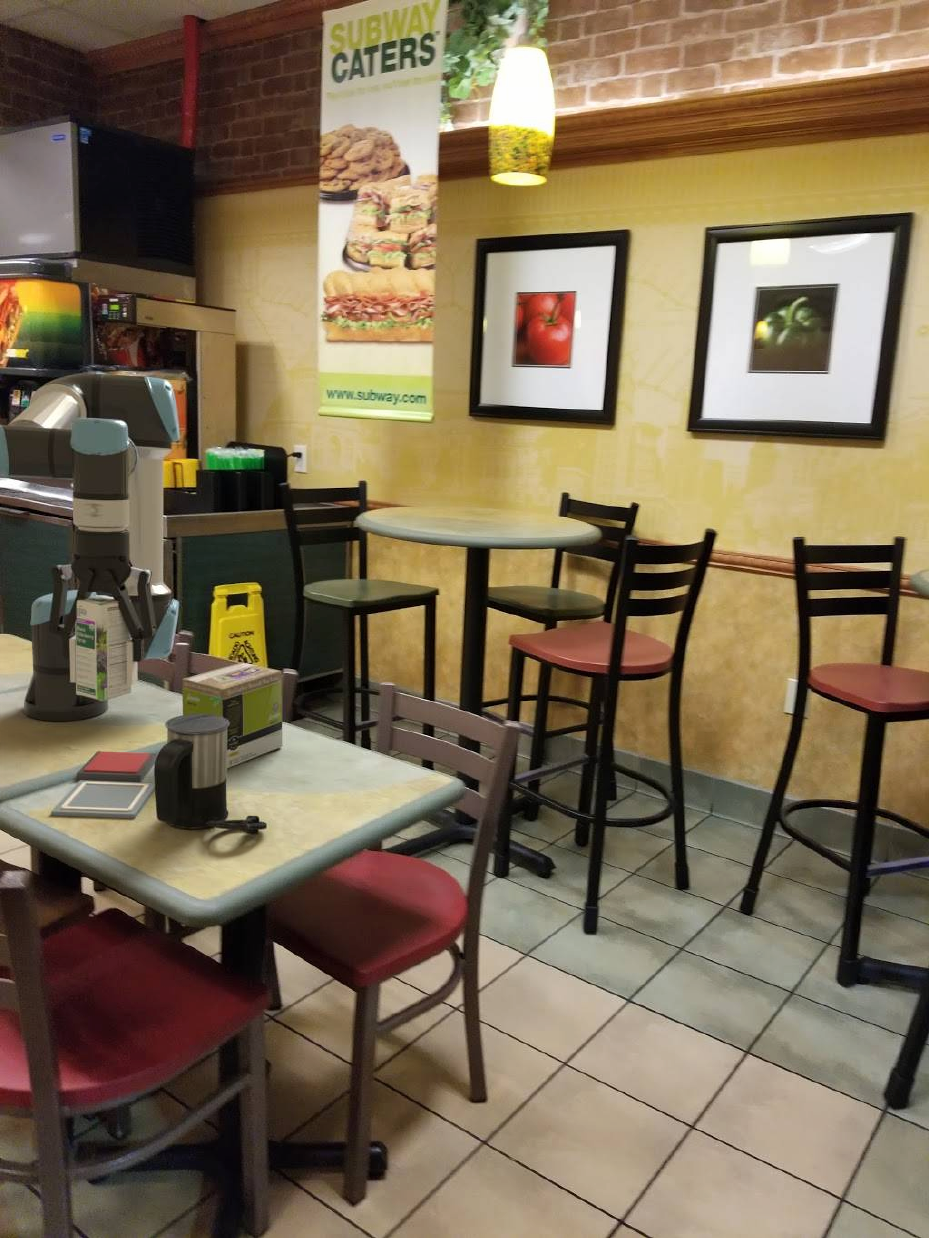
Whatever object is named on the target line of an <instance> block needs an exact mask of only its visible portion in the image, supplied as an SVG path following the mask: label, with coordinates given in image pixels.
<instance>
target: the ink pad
mask: <svg viewBox="0 0 929 1238" xmlns="http://www.w3.org/2000/svg"><path fill="white" fill-rule="evenodd" d="M157 755H158V753H155V752H154V753H149V752H126V751H125V752H124V751H121V752H120V751H101V750H98V751H96V752H95V753H94V754H93V756H91V758H90V759H88V761H86V762H85V764H84V765H83V766H82V767H81V768H80V769H79V770H78V771H77V772H76V781H80V780H84V781H111V782H137V783H142V782H143V780H144V778H145V777H146V776H147V775H148V773H149V772H150V770H151V769H152V768H153V767H154V766H155V761H156V758H157Z"/></svg>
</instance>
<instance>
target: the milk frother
mask: <svg viewBox="0 0 929 1238" xmlns="http://www.w3.org/2000/svg"><path fill="white" fill-rule="evenodd" d="M229 724H230V723H229V721H228V720H227V719H225V718H223V717H220V716H216V715H210V714H189V715H183V714H182V715H177V716H174V717H172V718H169V719H168V720H167V721H165V724H164V725H165V728H166V729H167V732H166V733H167V735H166V736H167V739H166V740H167V743H165V744H164V745H163V746H162V747H161V748H160V750H159V751H158V753H157V758H156V761H155V764H154V765H153V775H154V776H153V777H154V778H153V779H154V783H155V790H154V795H155V809H156V810H155V811H156V812H155V813H156V814H155V815H156V818H157V820H158V821H161V822H165V823H167V824H169V825H170V826H173V827H176V828H180V829H186V830H189V829H190V830H199V829H206V828H207V829H208V828H216V829H221V830H222V829H223V830H239V831H243V832H245V833H246V835H247V834H248V835H257V834H258V833H259V830H261V831H262V830H266V829H267V828H268V824H267V822H265V821H260V816H258V815H247V816H246V818H245V819H229V820H227V819H228V817H229V810H228V805H227V775H228V773H227V769H228V768H227V727H228V726H229Z"/></svg>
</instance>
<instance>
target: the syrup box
mask: <svg viewBox="0 0 929 1238" xmlns="http://www.w3.org/2000/svg"><path fill="white" fill-rule="evenodd" d="M129 601H130V603H131V600H129ZM117 602H118V601H116V600H115V599H114V598H113V597H108V595H103V594H102V595H98V594H97V596H90V597H88V598H86V599H85V600H78V601H77V619H76V622H75V636H76V694H77V695H82V696H86V697H90V698H93V699H97V700H100V701H105V700H108V701H109V700H111V699H114V698H118V697H122V696H124V695H127V694H128V695H129V694H131V693H132V685H127V641H128V640H130V639H131V635H130V633H129V631H128V628H127V626H126V624H125V621H124V619H123V617H122V614H121V612H120V610H119V606H118V603H117Z"/></svg>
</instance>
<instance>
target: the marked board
mask: <svg viewBox="0 0 929 1238" xmlns="http://www.w3.org/2000/svg"><path fill="white" fill-rule="evenodd" d="M153 793H155V782H115V781H88V780H78V782H77V783H76V784H75V785H74V786H73V787H72V788H71V790H70V791H69V792H68V793H67V794H65V796H64V797H63V798H62V799H61V800H60V801H59V802H58V804H56V806H55V807H54V808H53V809H52V810H51V813H50V816H55V817H56V816H60V817H61V816H62V817H63V816H64V817H88V818H89V817H91V818H112V819H113V818H118V819H119V818H121V819H136V817H137V816H138V815H139V813H140V812H141V810H142V809H143V808H144V806H145V805H146V803H147V802H148V800H149V799H150V797H152V794H153Z"/></svg>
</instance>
